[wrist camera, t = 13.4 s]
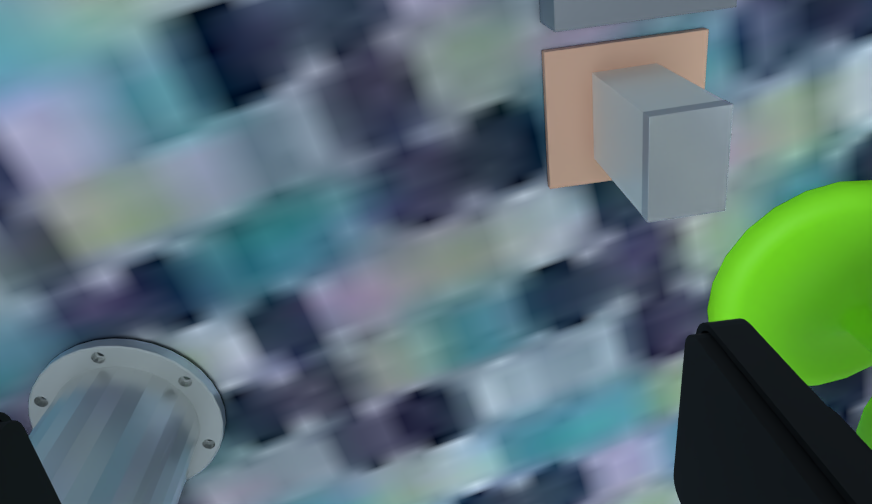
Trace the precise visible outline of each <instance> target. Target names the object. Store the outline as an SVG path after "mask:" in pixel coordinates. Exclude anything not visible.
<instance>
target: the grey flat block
mask: <svg viewBox="0 0 872 504" xmlns="http://www.w3.org/2000/svg"><path fill="white" fill-rule="evenodd" d="M539 4H540V22H541V23H543V24H544V25H545V26H547V27H548V28H550V29H551V30H553V31H554V32H560V31H567V30H574V29H581V28H589V27H596V26H603V25H610V24H617V23H625V22H632V21H639V20H646V19H653V18H661V17H668V16H675V15H682V14H689V13H697V12H704V11H711V10H718V9H725V8H733V7H736V4H737V0H539Z"/></svg>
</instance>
